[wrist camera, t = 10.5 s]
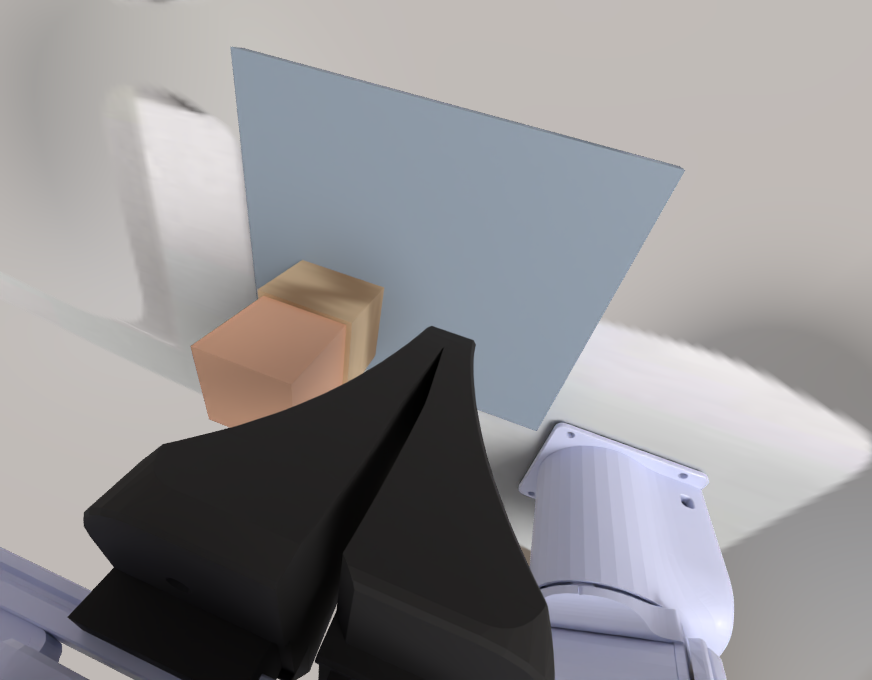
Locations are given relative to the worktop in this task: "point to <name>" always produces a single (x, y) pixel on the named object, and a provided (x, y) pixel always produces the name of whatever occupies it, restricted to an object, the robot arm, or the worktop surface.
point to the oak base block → (334, 307)
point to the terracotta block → (268, 361)
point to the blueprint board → (445, 218)
